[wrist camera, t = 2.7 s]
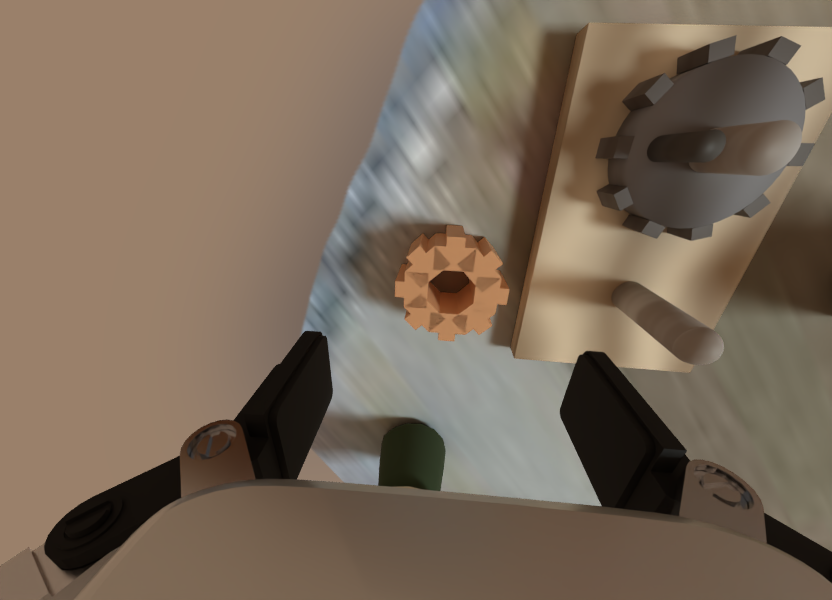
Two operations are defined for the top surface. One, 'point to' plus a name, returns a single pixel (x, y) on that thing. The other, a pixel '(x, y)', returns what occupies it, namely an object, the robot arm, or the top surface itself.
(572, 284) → the gear board
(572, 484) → the top surface
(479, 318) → the loose gear
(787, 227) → the top surface
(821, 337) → the top surface
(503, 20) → the top surface
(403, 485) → the character mug
